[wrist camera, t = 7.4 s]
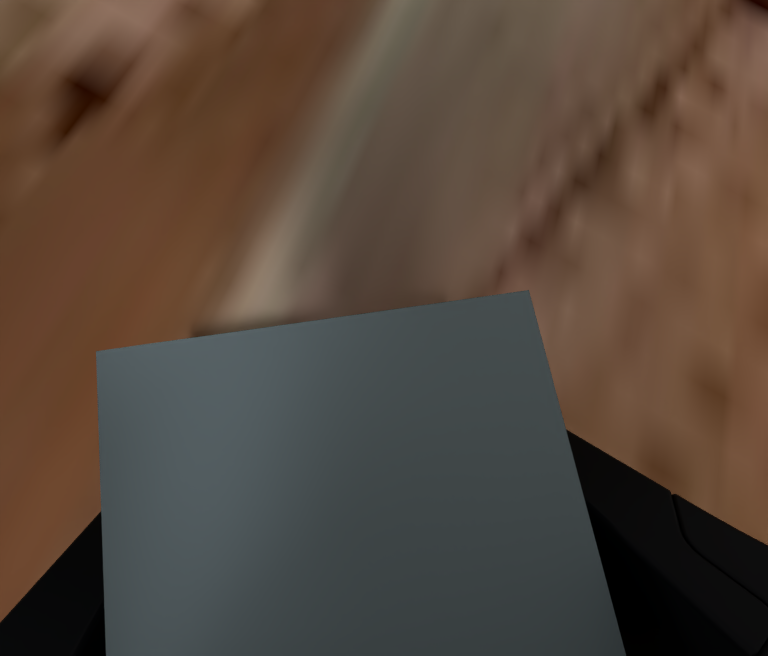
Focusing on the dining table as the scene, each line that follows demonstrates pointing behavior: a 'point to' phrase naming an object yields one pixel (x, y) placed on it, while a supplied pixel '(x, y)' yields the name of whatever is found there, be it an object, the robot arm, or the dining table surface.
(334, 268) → the dining table surface
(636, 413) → the dining table surface
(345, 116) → the dining table surface
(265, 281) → the dining table surface
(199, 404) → the block
